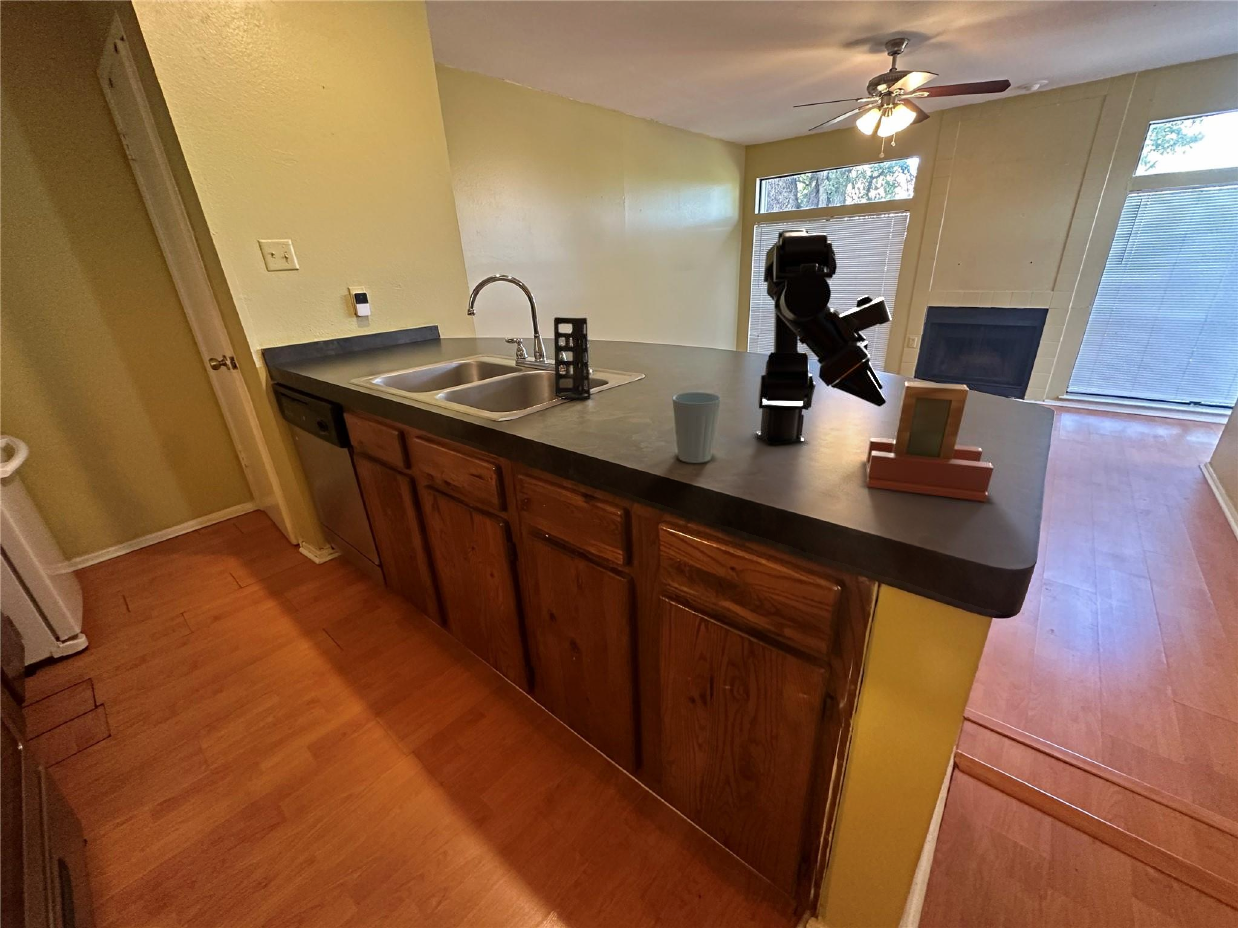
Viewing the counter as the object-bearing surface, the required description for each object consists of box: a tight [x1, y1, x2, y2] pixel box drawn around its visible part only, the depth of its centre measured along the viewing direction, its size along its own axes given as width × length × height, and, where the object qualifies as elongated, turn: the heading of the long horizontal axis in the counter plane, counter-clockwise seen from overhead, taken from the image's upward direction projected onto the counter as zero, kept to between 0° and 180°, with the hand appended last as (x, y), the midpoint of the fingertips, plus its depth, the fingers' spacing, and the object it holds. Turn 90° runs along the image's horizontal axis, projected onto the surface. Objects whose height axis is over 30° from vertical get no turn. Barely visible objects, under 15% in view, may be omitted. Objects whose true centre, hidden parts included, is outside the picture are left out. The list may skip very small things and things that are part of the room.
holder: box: [553, 316, 592, 401], centre depth 122 cm, size 11×8×20 cm
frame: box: [892, 381, 970, 459], centre depth 66 cm, size 7×3×13 cm, turn 63°
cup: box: [672, 391, 721, 464], centre depth 79 cm, size 8×8×10 cm
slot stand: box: [865, 437, 994, 503], centre depth 68 cm, size 14×10×4 cm
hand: (881, 396), depth 71 cm, fingers open, 9 cm apart
